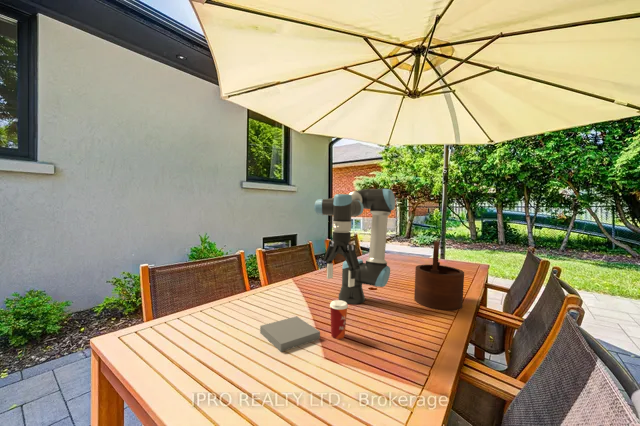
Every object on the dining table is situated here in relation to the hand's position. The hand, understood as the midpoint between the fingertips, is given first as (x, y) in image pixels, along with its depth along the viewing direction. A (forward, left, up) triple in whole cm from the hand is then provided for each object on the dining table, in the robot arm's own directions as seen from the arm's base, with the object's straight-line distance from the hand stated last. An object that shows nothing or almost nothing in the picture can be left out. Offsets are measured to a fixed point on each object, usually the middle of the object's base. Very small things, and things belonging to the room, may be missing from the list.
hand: (339, 282), depth 115 cm
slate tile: (-11, -17, -23) cm, 30 cm away
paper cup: (0, 0, -23) cm, 23 cm away
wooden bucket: (+1, +75, -23) cm, 78 cm away
